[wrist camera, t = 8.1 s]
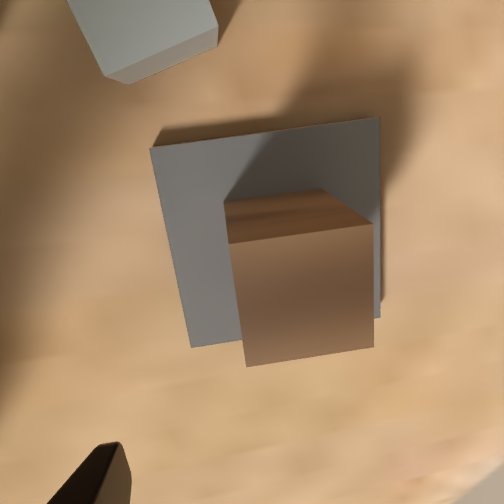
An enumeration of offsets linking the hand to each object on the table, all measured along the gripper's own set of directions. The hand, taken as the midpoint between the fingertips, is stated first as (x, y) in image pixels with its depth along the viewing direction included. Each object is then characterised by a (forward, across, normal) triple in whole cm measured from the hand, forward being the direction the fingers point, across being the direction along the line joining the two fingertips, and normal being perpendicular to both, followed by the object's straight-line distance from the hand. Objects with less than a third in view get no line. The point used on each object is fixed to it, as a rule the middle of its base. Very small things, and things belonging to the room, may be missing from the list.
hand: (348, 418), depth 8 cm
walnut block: (+11, 0, 0) cm, 11 cm away
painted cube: (+12, +4, -10) cm, 16 cm away
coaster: (+12, 0, 0) cm, 12 cm away
